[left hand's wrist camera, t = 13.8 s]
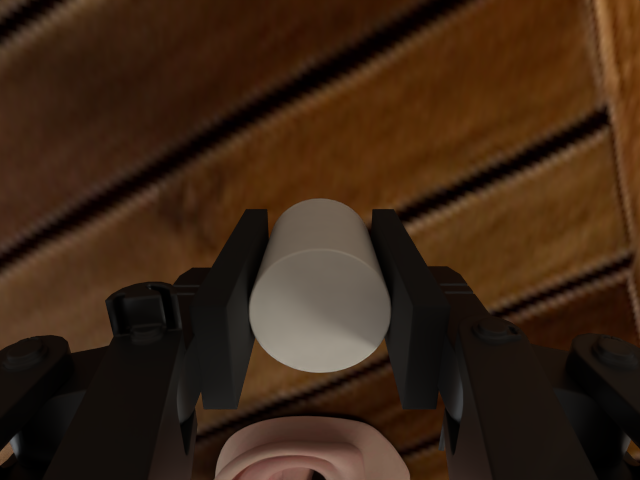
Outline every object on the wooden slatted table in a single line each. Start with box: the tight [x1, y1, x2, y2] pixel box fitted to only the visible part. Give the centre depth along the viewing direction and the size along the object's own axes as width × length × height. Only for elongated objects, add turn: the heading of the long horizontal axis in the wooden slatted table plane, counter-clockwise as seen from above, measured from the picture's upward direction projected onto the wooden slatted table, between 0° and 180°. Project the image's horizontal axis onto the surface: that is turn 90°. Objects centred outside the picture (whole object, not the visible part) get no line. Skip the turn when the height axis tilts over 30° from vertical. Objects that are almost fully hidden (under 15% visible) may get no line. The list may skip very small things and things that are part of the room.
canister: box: [248, 199, 392, 373], centre depth 12 cm, size 4×4×5 cm
